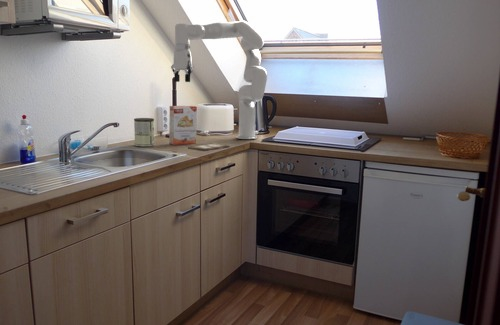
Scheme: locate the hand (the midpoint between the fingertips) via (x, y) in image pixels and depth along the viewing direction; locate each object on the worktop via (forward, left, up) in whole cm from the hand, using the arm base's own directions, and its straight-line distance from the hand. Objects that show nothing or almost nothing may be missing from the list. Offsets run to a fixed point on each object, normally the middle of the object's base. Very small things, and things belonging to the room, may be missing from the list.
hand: (182, 81), depth 241 cm
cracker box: (0, 0, -34) cm, 34 cm away
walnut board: (0, +20, -34) cm, 39 cm away
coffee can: (+18, -10, -34) cm, 40 cm away
